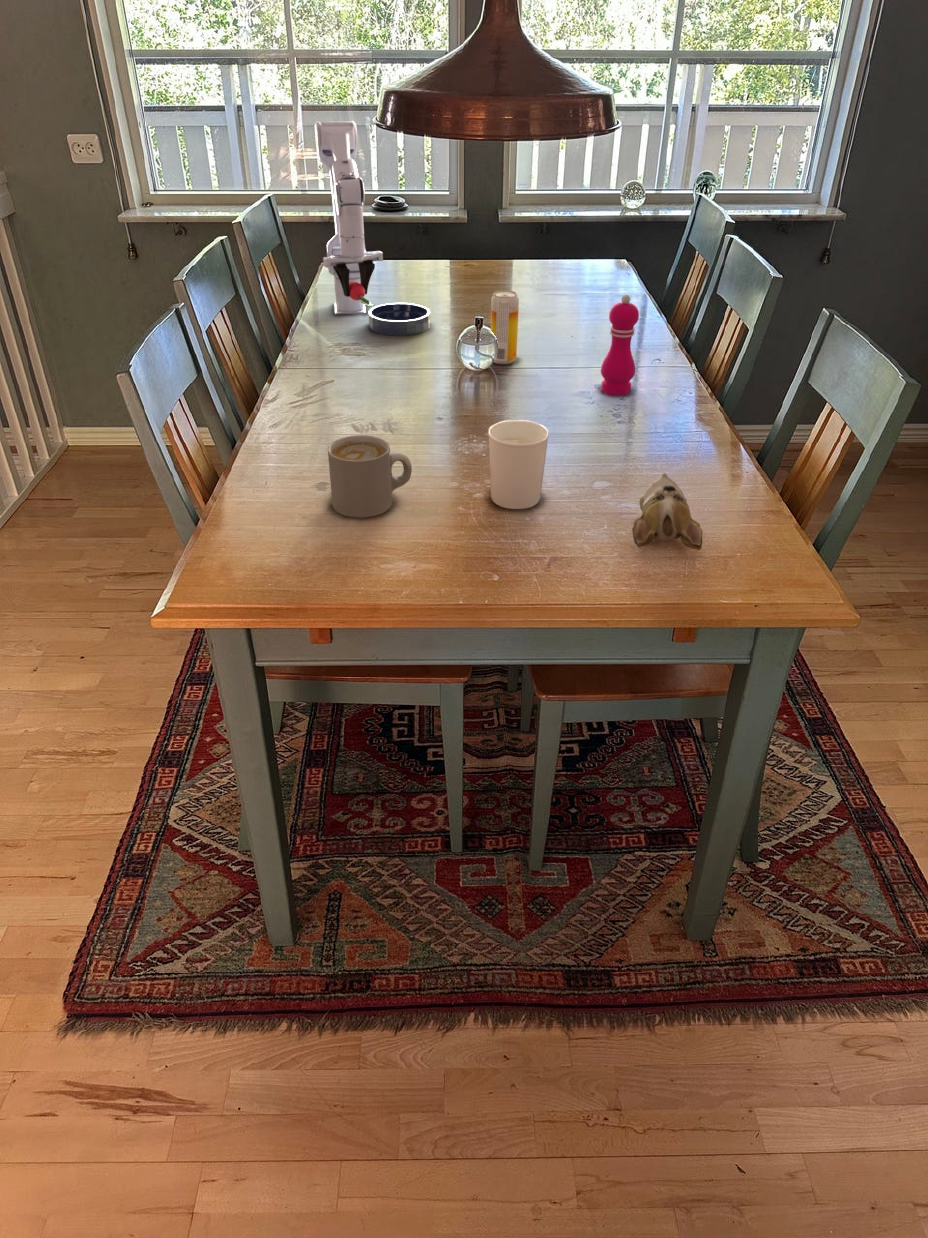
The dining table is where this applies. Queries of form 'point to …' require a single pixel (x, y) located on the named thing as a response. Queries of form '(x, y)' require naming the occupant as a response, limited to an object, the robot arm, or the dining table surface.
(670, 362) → the dining table surface
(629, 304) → the pepper mill
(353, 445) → the coffee mug
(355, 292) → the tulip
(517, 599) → the dining table surface
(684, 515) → the ceramic sculpture
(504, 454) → the white cup
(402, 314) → the bowl
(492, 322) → the beer can
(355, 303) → the robot arm
